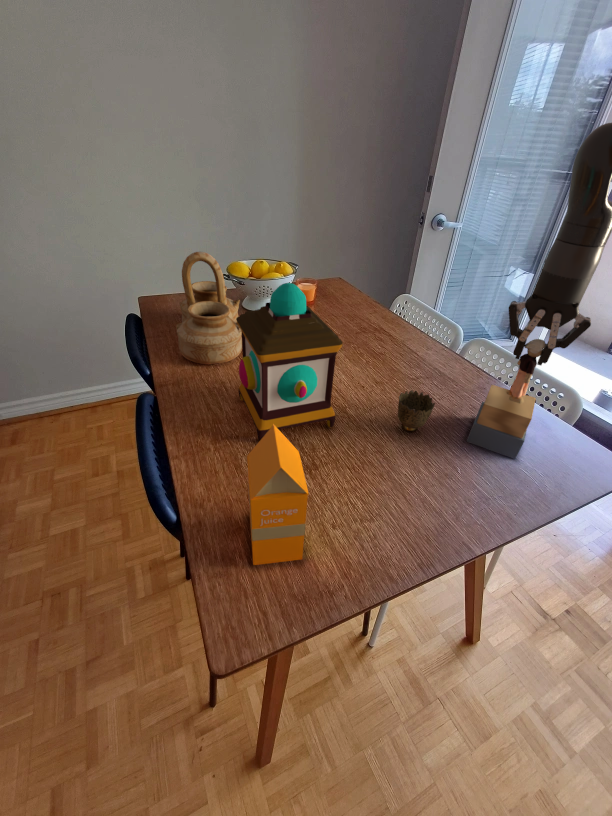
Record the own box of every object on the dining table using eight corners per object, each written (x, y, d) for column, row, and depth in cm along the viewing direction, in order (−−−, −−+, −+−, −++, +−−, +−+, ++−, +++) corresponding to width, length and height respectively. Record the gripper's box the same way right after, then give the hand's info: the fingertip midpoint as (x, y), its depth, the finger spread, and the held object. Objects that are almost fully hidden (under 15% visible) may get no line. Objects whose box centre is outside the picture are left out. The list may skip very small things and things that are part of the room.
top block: (526, 416, 87) (536, 397, 84) (522, 438, 80) (531, 419, 77) (484, 403, 90) (491, 384, 87) (476, 423, 84) (484, 403, 81)
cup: (429, 440, 86) (438, 410, 81) (395, 438, 86) (403, 408, 81) (421, 419, 92) (430, 390, 87) (390, 417, 92) (396, 388, 87)
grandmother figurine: (531, 407, 78) (559, 349, 71) (512, 405, 78) (538, 348, 71) (515, 386, 84) (540, 331, 77) (498, 384, 84) (521, 329, 77)
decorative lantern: (254, 450, 80) (250, 308, 63) (231, 397, 95) (223, 270, 77) (343, 430, 87) (361, 297, 69) (309, 384, 102) (317, 264, 84)
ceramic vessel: (249, 365, 107) (247, 272, 93) (178, 370, 103) (164, 273, 89) (238, 315, 134) (234, 237, 119) (181, 317, 130) (170, 236, 115)
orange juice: (252, 565, 59) (248, 469, 48) (249, 518, 67) (245, 424, 55) (303, 559, 61) (312, 464, 49) (295, 513, 68) (301, 421, 56)
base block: (521, 434, 90) (529, 416, 87) (515, 459, 83) (524, 441, 80) (475, 418, 94) (482, 401, 91) (466, 441, 86) (473, 423, 83)
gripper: (520, 266, 67) (486, 357, 77) (617, 284, 61) (568, 380, 71) (525, 257, 72) (493, 343, 82) (615, 273, 66) (569, 363, 77)
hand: (528, 360), depth 76 cm, fingers closed on grandmother figurine, 3 cm apart
